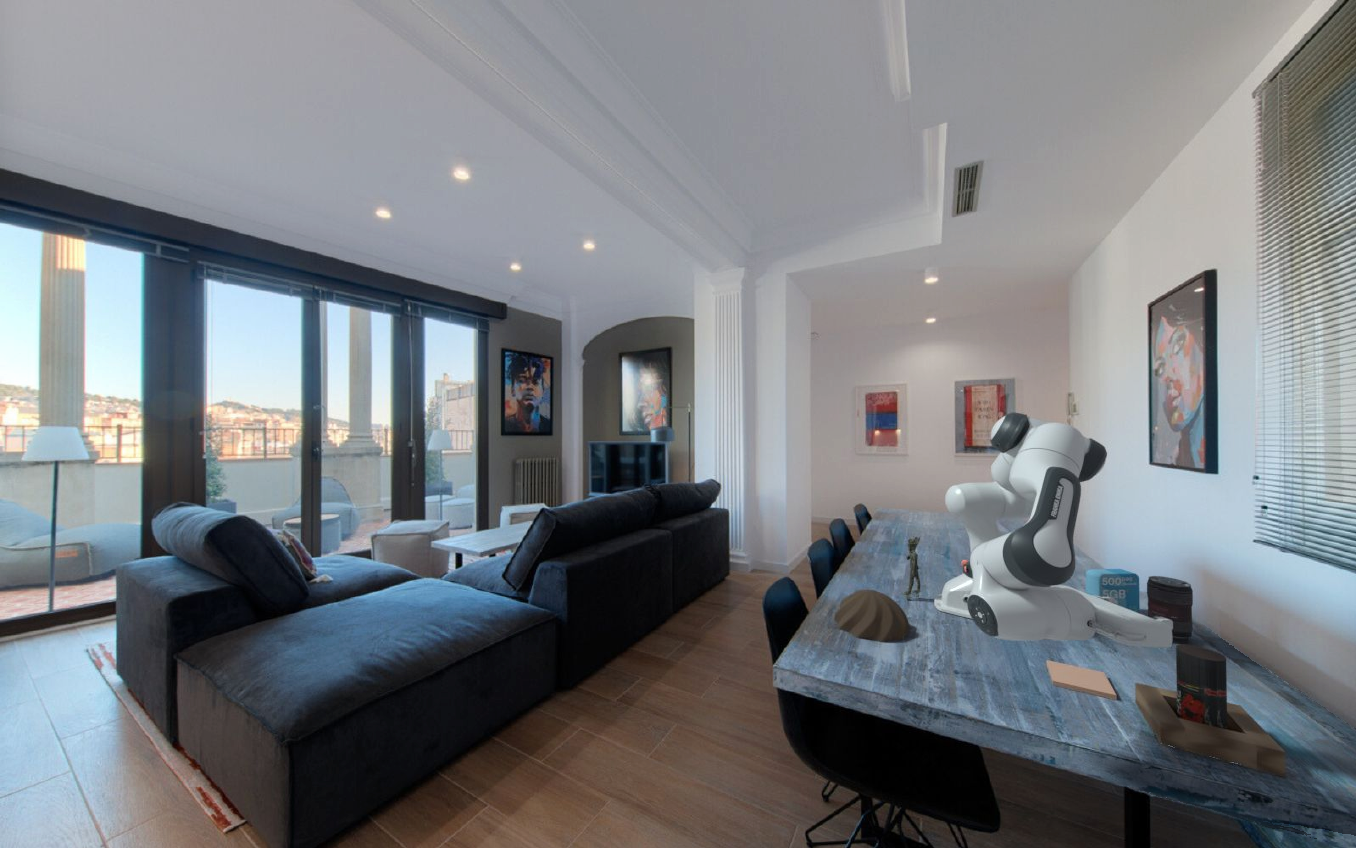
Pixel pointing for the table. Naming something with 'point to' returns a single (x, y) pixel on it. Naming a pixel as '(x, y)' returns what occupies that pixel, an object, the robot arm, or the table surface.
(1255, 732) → the block
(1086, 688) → the terracotta tile
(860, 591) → the decorative dome
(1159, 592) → the camera lens
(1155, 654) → the table surface
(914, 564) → the statue
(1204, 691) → the deodorant
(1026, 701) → the table surface
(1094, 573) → the data package
